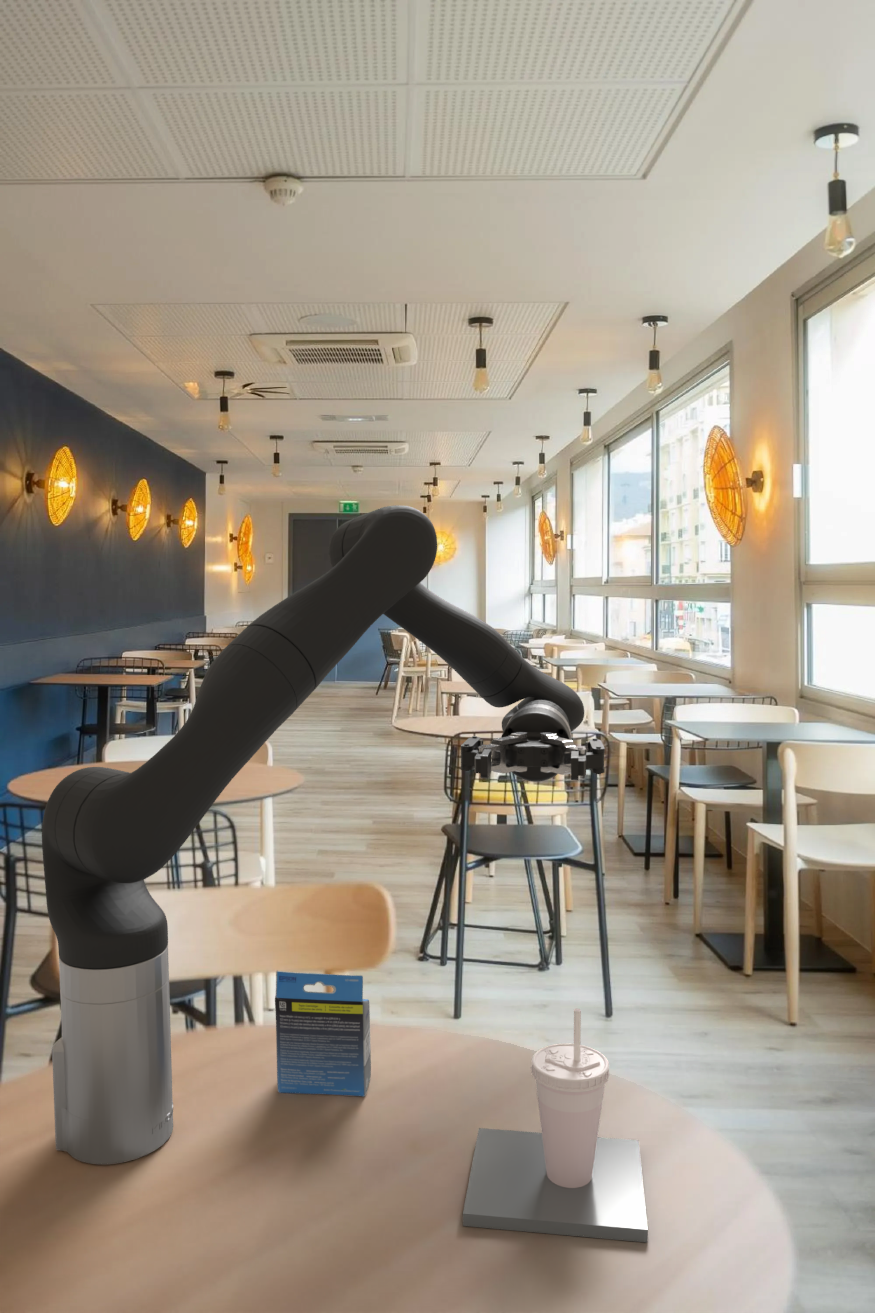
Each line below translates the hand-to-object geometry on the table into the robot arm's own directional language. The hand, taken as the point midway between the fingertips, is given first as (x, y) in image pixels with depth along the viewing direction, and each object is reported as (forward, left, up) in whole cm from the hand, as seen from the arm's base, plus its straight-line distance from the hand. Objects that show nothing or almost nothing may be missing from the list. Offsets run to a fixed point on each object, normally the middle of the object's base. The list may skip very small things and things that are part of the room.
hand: (529, 768), depth 93 cm
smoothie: (+4, -14, -31) cm, 34 cm away
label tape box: (-20, -1, -32) cm, 38 cm away
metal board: (+3, -14, -32) cm, 35 cm away
